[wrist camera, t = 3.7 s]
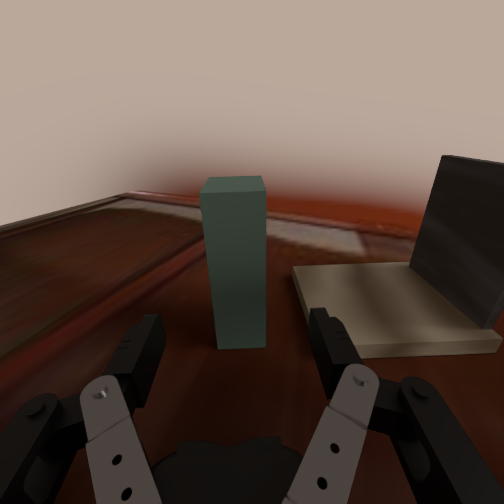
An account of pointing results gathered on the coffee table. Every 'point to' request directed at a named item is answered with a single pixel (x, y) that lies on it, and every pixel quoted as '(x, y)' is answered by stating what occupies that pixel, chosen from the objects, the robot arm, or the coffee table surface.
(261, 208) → the tall sage green prism
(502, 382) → the coffee table surface
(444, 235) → the desktop book rack
